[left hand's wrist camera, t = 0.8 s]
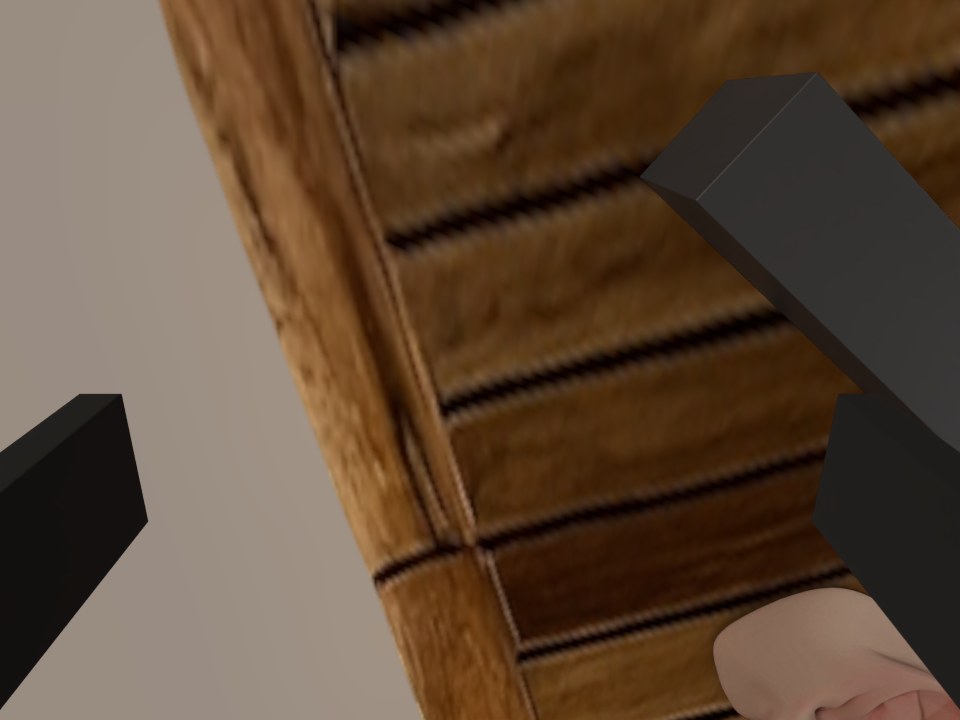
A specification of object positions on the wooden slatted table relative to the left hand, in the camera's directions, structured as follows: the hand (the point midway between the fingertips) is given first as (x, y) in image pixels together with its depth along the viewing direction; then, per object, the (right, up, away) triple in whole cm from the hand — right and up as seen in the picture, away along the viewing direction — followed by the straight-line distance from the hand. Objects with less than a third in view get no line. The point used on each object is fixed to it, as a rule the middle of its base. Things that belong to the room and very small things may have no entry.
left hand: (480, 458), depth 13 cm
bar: (+18, +5, +20) cm, 27 cm away
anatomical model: (+21, -16, +28) cm, 39 cm away
